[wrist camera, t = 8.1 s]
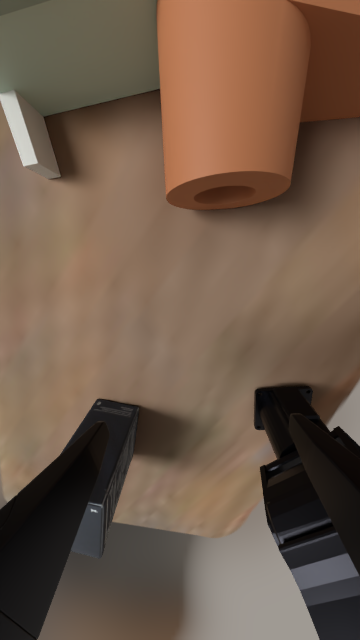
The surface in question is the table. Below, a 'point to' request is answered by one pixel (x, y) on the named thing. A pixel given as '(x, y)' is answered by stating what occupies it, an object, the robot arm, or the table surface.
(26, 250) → the table surface
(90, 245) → the table surface
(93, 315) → the table surface
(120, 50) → the chute mount
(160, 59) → the crank
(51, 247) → the table surface
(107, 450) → the small box
